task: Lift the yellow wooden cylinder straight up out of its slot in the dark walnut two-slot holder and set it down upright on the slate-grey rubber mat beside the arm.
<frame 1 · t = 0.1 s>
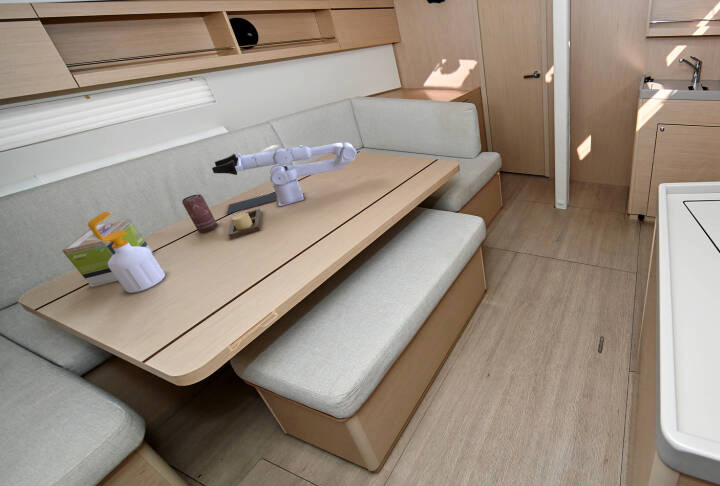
hand: (214, 167, 136), 22 cm above the table, tool horizontal, fingers open, 7 cm apart
soap bottle: (146, 283, 108), on the table
holder: (247, 225, 137), on the table
yellow wooden cylinder: (246, 229, 134), resting in holder
mat: (253, 203, 155), on the table
can: (209, 229, 137), on the table
tea box: (124, 269, 116), on the table
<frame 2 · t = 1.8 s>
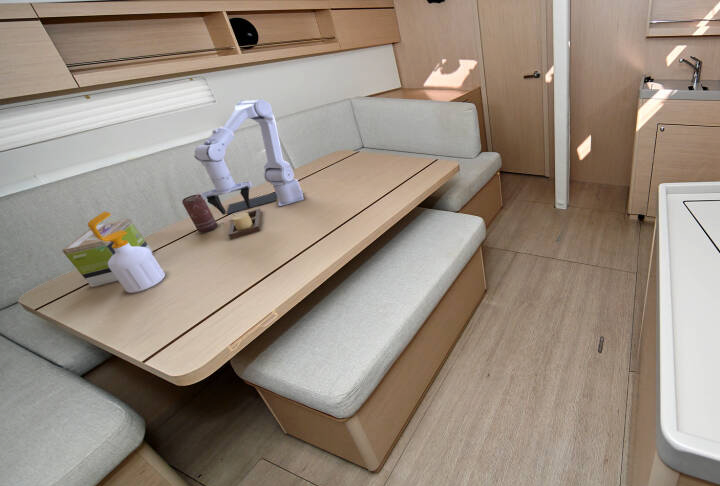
hand: (236, 210, 130), 9 cm above the table, tool pointing down, fingers open, 7 cm apart
nothing on the table moved.
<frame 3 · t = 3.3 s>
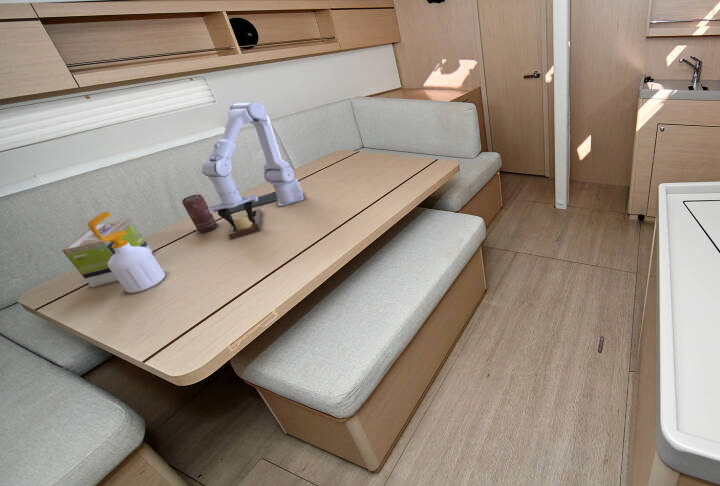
hand: (243, 223, 132), 3 cm above the table, tool pointing down, fingers closed on yellow wooden cylinder, 5 cm apart
yellow wooden cylinder: (246, 229, 134), resting in holder, touching gripper
everything else where it was.
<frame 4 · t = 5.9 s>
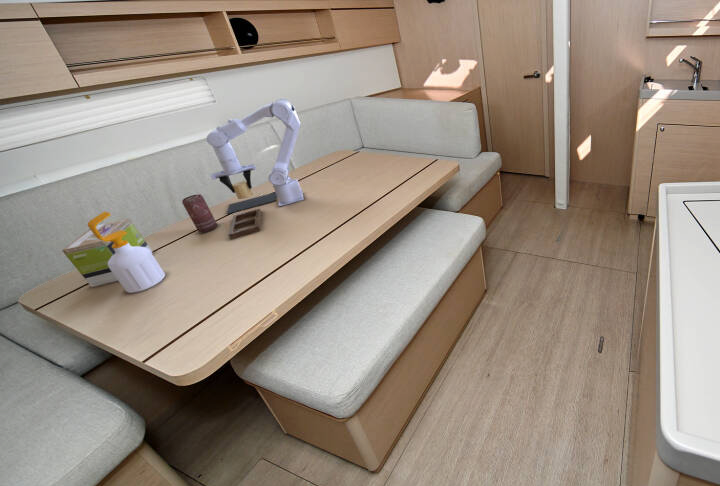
hand: (242, 189, 145), 9 cm above the table, tool pointing down, fingers closed on yellow wooden cylinder, 5 cm apart
yellow wooden cylinder: (245, 196, 146), point 6 cm above the table, touching gripper
everything else where it was.
when the fingers open (3 cm above the table, at t = 8.5 s): yellow wooden cylinder stays where it is, resting on mat.
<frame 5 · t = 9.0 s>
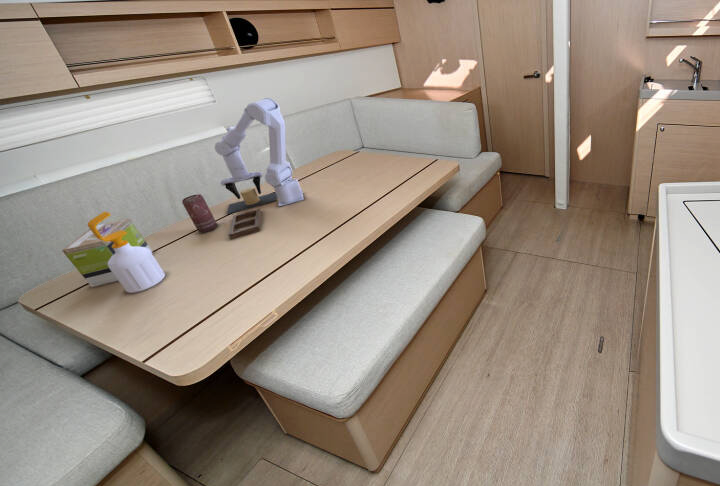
hand: (249, 195, 153), 4 cm above the table, tool pointing down, fingers open, 7 cm apart
yellow wooden cylinder: (252, 202, 154), resting on mat
everything else where it was.
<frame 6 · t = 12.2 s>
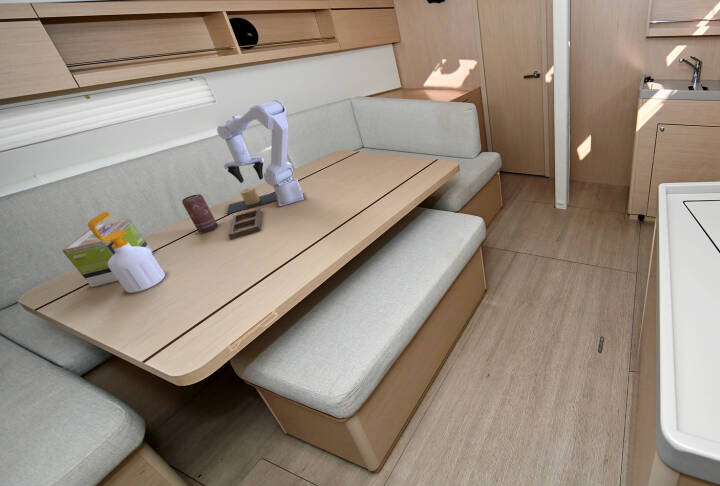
hand: (252, 180, 154), 9 cm above the table, tool pointing down, fingers open, 7 cm apart
nothing on the table moved.
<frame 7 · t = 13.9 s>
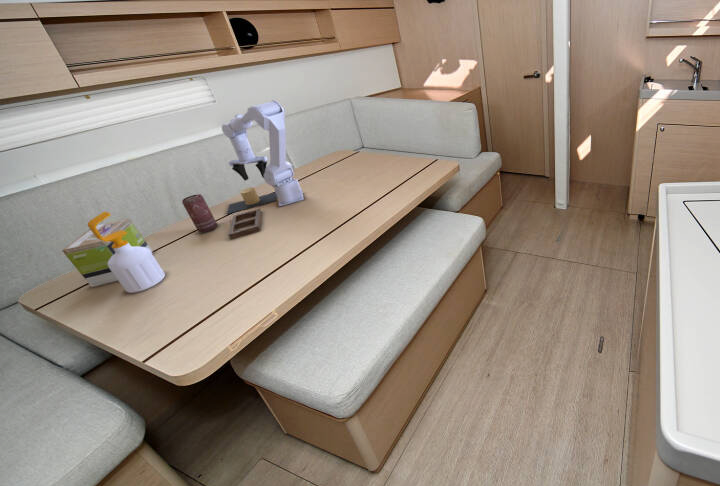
hand: (255, 178, 155), 9 cm above the table, tool pointing down, fingers open, 7 cm apart
nothing on the table moved.
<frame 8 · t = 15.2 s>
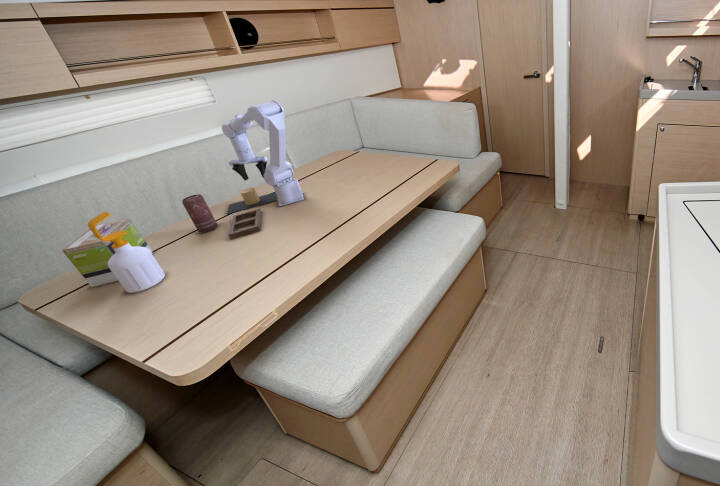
hand: (255, 178, 155), 9 cm above the table, tool pointing down, fingers open, 7 cm apart
nothing on the table moved.
at the end: yellow wooden cylinder inside the target area on the mat (0.0 cm from its centre), point 0.4 cm above the mat's base; yellow wooden cylinder tilted 0°; the gripper is holding nothing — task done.
